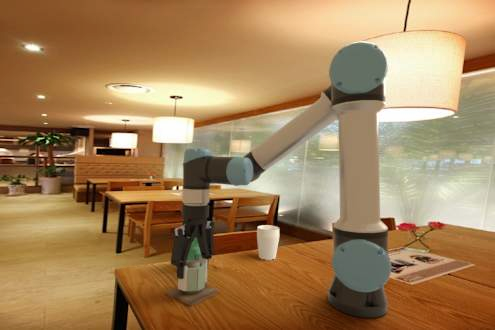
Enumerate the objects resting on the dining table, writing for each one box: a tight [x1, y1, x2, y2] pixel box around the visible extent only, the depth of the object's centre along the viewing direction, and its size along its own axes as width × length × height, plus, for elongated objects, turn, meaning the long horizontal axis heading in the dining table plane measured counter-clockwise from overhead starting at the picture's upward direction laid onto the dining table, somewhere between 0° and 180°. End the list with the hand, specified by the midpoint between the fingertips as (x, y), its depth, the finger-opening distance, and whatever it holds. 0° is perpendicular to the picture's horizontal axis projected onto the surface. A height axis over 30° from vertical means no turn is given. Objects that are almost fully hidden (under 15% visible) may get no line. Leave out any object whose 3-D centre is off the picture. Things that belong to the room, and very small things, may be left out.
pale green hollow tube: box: [185, 260, 206, 291], centre depth 82 cm, size 7×7×6 cm
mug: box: [187, 237, 202, 261], centre depth 98 cm, size 15×10×10 cm
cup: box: [256, 224, 280, 261], centre depth 116 cm, size 9×9×12 cm
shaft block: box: [166, 260, 219, 307], centre depth 82 cm, size 10×10×9 cm
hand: (192, 284), depth 82 cm, fingers closed on pale green hollow tube, 7 cm apart
